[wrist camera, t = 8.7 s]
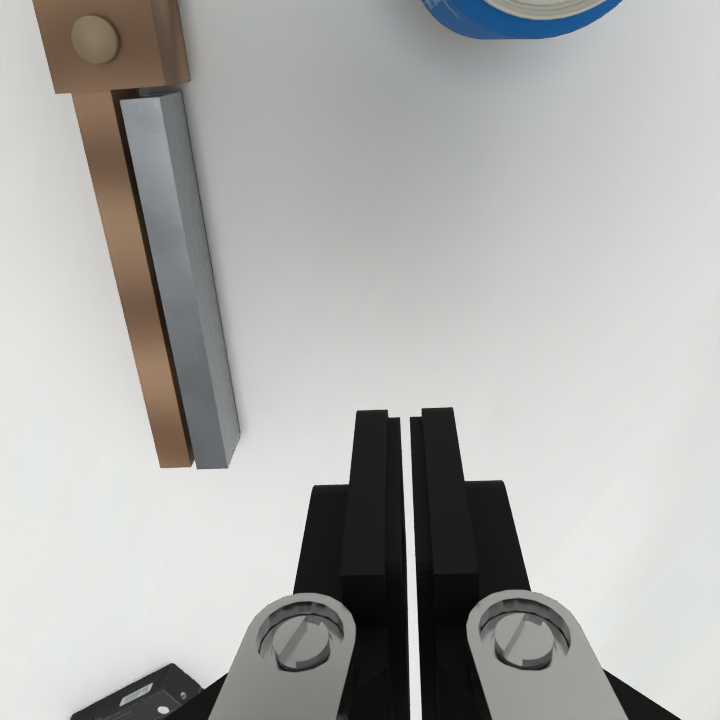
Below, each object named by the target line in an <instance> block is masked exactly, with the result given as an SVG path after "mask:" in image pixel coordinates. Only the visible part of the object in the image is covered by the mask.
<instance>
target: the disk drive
mask: <svg viewBox="0 0 720 720" xmlns="http://www.w3.org/2000/svg"><path fill="white" fill-rule="evenodd" d="M203 690H204V689H203V688H201V686H200V685H199V684H198V683H197V682H196V681H194V680H193V679H192V678H191V677H190V676H189V675H187V674H185V673H184V672H183V671H182V670H181V669H180V668H178V667H177V666H176V665H175V664H173V663H171V664H169V665H167V666H165V667H163V668H161V669H160V670H157V671H156V672H154V673H152V674H150V675H147V676H146V677H144V678H142V679H140V680H138V681H136V682H134V683H132V684H130V685H128V686H126V687H125V688H123V689H121V690H119V691H117V692H115V693H113V694H111V695H109V696H107V697H105V698H103V699H101V700H99V701H98V702H95V703H94V704H92V705H90V706H89V707H87V708H85V709H83V710H81V711H79V712H77V713H75V714H73V715H72V717H71V719H70V720H163V719H164V718H165V717H167V716H168V715H170V714H171V713H172V712H174V711H175V710H177V709H178V708H179V707H181V706H182V705H184V704H185V703H186V702H188V701H189V700H190V699H192V698H193V697H195V696H196V695H197V694H199V693H200V692H202V691H203Z"/></svg>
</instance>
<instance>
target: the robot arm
mask: <svg viewBox="0 0 720 720" xmlns="http://www.w3.org/2000/svg"><path fill="white" fill-rule="evenodd" d="M410 433H411V458H412V483H413V508H414V532H415V557H416V582H417V606H418V631H419V655H420V680H421V705H422V720H681V719H680V718H678V717H676V716H675V715H673V714H672V713H670V712H669V711H667V710H666V709H664V708H663V707H661V706H660V705H658V704H656V703H655V702H653V701H652V700H650V699H649V698H647V697H646V696H644V695H643V694H641V693H640V692H638V691H636V690H635V689H633V688H632V687H630V686H629V685H627V684H626V683H624V682H623V681H621V680H619V679H618V678H616V677H615V676H613V675H612V674H610V673H609V672H607V671H606V670H604V669H603V668H602V667H601V665H600V663H599V661H598V659H597V657H596V655H595V653H594V652H593V650H592V648H591V646H590V644H589V642H588V640H587V638H586V636H585V634H584V632H583V630H582V628H581V626H580V624H579V623H578V622H577V620H576V619H575V617H574V616H573V615H572V613H571V612H570V611H569V610H568V609H566V608H565V607H564V606H563V605H561V604H560V603H559V602H558V601H556V600H554V599H552V598H549V597H547V596H545V595H543V594H541V593H536V592H532V591H531V589H530V585H529V581H528V577H527V573H526V569H525V565H524V561H523V557H522V552H521V548H520V544H519V540H518V536H517V532H516V528H515V524H514V520H513V516H512V512H511V508H510V504H509V500H508V496H507V492H506V488H505V485H504V482H503V481H502V480H494V481H464V474H463V468H462V462H461V456H460V449H459V443H458V437H457V430H456V424H455V418H454V411H453V408H452V407H448V408H422V417H410ZM163 720H410V688H409V645H408V602H407V559H406V532H405V512H404V491H403V470H402V449H401V428H400V417H395V418H388V410H362V411H357V413H356V421H355V431H354V441H353V451H352V461H351V470H350V480H349V484H346V485H314V487H313V489H312V493H311V498H310V503H309V509H308V514H307V520H306V525H305V531H304V536H303V542H302V547H301V553H300V558H299V564H298V569H297V574H296V580H295V585H294V591H293V595H290V596H286V597H282V598H280V599H278V600H276V601H275V602H273V603H271V604H269V605H267V606H266V607H265V608H264V609H263V610H262V611H260V612H259V613H258V614H257V615H256V616H255V618H254V619H253V621H252V622H251V624H250V625H249V627H248V629H247V631H246V633H245V636H244V638H243V640H242V642H241V645H240V647H239V649H238V652H237V654H236V656H235V659H234V661H233V663H232V666H231V668H230V670H229V672H228V673H227V674H225V675H224V676H223V677H221V678H220V679H218V680H217V681H216V682H214V683H213V684H211V685H210V686H209V687H207V688H206V689H204V690H203V691H202V692H200V693H199V694H197V695H196V696H195V697H193V698H192V699H190V700H189V701H188V702H186V703H185V704H184V705H182V706H181V707H179V708H178V709H177V710H175V711H174V712H172V713H171V714H170V715H168V716H167V717H165V718H164V719H163Z"/></svg>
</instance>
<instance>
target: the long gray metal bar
mask: <svg viewBox="0 0 720 720" xmlns="http://www.w3.org/2000/svg"><path fill="white" fill-rule="evenodd" d="M120 104H121V109H122V114H123V119H124V124H125V128H126V133H127V138H128V143H129V147H130V152H131V157H132V162H133V166H134V171H135V176H136V181H137V186H138V190H139V195H140V200H141V205H142V209H143V214H144V219H145V224H146V228H147V233H148V238H149V243H150V248H151V252H152V257H153V262H154V267H155V271H156V276H157V281H158V286H159V290H160V295H161V300H162V305H163V310H164V314H165V319H166V324H167V329H168V333H169V338H170V343H171V348H172V352H173V357H174V362H175V367H176V372H177V376H178V381H179V386H180V391H181V395H182V400H183V405H184V410H185V414H186V419H187V424H188V429H189V433H190V438H191V443H192V448H193V453H194V457H195V462H196V467H197V469H221V468H228V467H229V464H230V461H231V459H232V456H233V454H234V451H235V449H236V446H237V443H238V441H239V438H240V432H239V426H238V421H237V415H236V409H235V403H234V397H233V391H232V386H231V380H230V374H229V368H228V362H227V356H226V351H225V345H224V339H223V333H222V327H221V321H220V316H219V310H218V304H217V298H216V292H215V286H214V280H213V275H212V269H211V263H210V257H209V251H208V245H207V240H206V234H205V228H204V222H203V216H202V210H201V205H200V199H199V193H198V187H197V181H196V175H195V170H194V164H193V158H192V152H191V146H190V140H189V134H188V129H187V123H186V117H185V111H184V105H183V99H182V94H181V92H171V93H157V94H144V95H140V96H135V97H131V98H126V99H122V100H120Z"/></svg>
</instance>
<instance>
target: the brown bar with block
mask: <svg viewBox="0 0 720 720" xmlns="http://www.w3.org/2000/svg"><path fill="white" fill-rule="evenodd" d="M32 1H33V5H34V9H35V13H36V17H37V21H38V25H39V29H40V33H41V37H42V41H43V45H44V49H45V53H46V57H47V61H48V65H49V70H50V74H51V78H52V82H53V86H54V90H55V94H60V93H71V94H72V98H73V103H74V107H75V111H76V115H77V119H78V124H79V128H80V132H81V136H82V140H83V145H84V149H85V153H86V157H87V161H88V166H89V170H90V174H91V178H92V182H93V187H94V191H95V195H96V199H97V203H98V207H99V212H100V216H101V220H102V224H103V228H104V233H105V237H106V241H107V245H108V249H109V254H110V258H111V262H112V266H113V270H114V275H115V279H116V283H117V287H118V291H119V296H120V300H121V304H122V308H123V312H124V317H125V321H126V325H127V329H128V333H129V338H130V342H131V346H132V350H133V354H134V359H135V363H136V367H137V371H138V375H139V380H140V384H141V388H142V392H143V396H144V401H145V405H146V409H147V413H148V417H149V422H150V426H151V430H152V434H153V438H154V443H155V447H156V451H157V455H158V459H159V464H160V468H179V467H191V466H192V464H193V462H194V460H195V457H194V453H193V448H192V443H191V438H190V433H189V429H188V424H187V419H186V414H185V410H184V405H183V400H182V395H181V391H180V386H179V381H178V376H177V372H176V367H175V362H174V357H173V352H172V348H171V343H170V338H169V333H168V329H167V324H166V319H165V314H164V310H163V305H162V300H161V295H160V290H159V286H158V281H157V276H156V271H155V267H154V262H153V257H152V252H151V248H150V243H149V238H148V233H147V228H146V224H145V219H144V214H143V209H142V205H141V200H140V195H139V190H138V186H137V181H136V176H135V171H134V166H133V162H132V157H131V152H130V147H129V143H128V138H127V133H126V128H125V124H124V119H123V114H122V109H121V104H120V100H122V99H126V98H131V97H135V96H139V94H138V89H137V88H144V87H158V86H168V85H173V84H177V83H182V82H187V81H190V74H189V68H188V62H187V56H186V50H185V44H184V38H183V32H182V26H181V20H180V14H179V8H178V2H177V0H32Z"/></svg>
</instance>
